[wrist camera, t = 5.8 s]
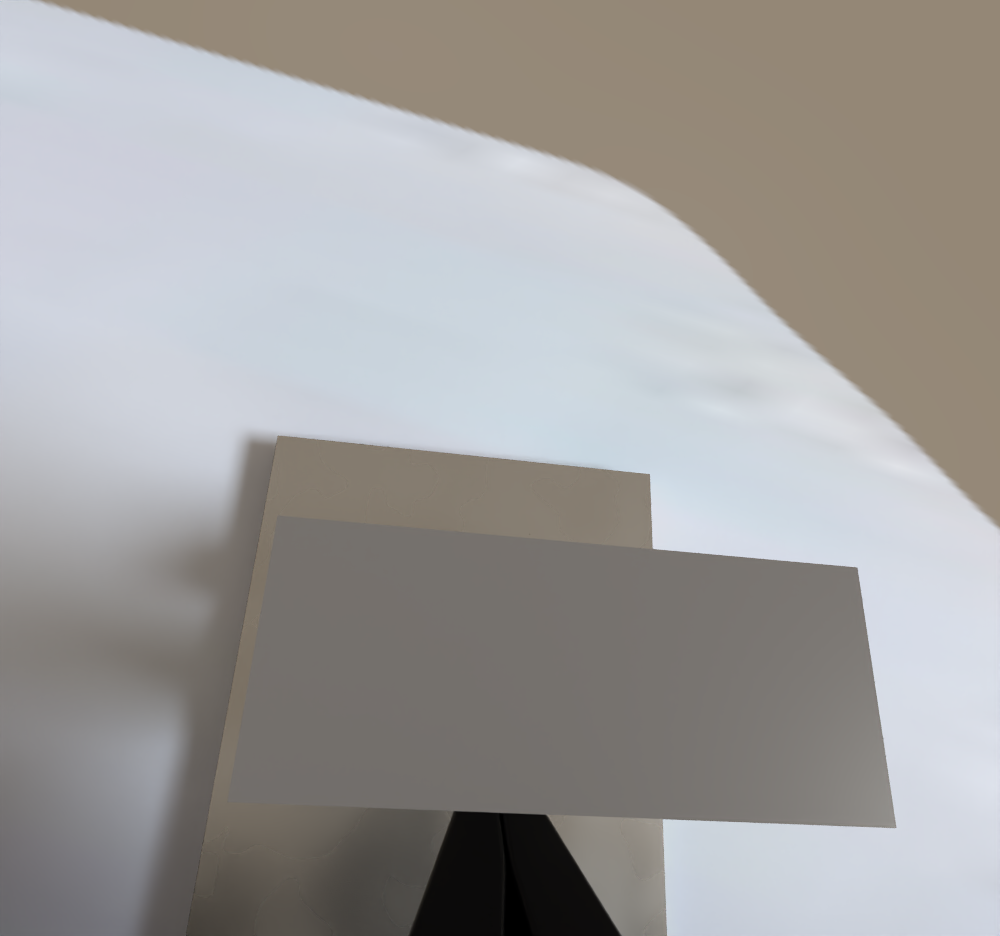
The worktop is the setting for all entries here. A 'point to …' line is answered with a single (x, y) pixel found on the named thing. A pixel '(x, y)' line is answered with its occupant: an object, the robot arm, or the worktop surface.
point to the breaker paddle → (558, 681)
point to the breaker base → (406, 832)
